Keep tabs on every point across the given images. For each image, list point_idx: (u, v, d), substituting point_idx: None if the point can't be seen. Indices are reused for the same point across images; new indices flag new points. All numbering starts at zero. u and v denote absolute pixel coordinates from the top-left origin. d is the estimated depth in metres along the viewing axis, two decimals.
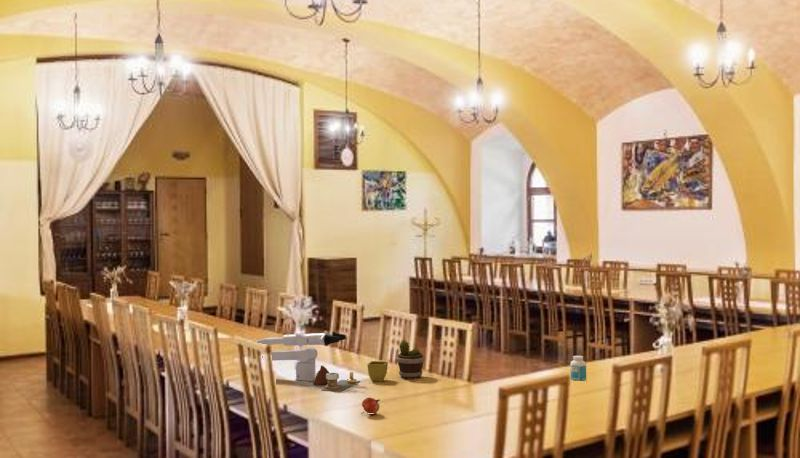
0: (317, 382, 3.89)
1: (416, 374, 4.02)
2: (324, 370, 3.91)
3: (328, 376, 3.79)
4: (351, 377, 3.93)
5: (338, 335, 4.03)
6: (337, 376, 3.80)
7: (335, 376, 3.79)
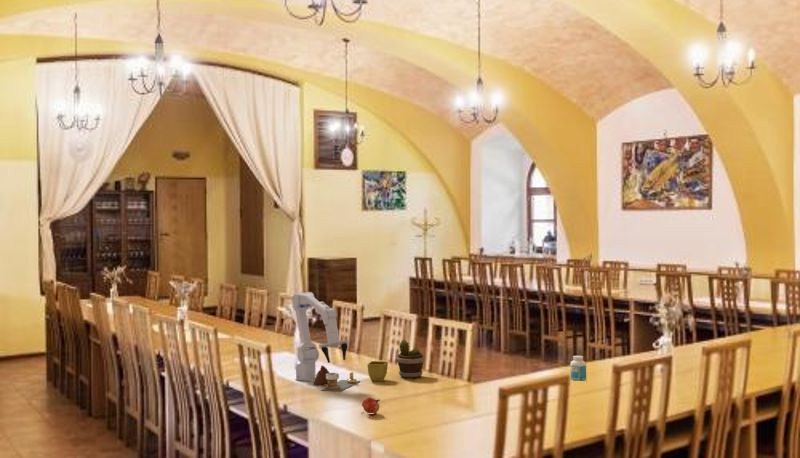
0: (317, 382, 3.89)
1: (416, 374, 4.02)
2: (324, 370, 3.91)
3: (328, 376, 3.79)
4: (351, 377, 3.93)
5: None
6: (337, 376, 3.80)
7: (335, 376, 3.79)
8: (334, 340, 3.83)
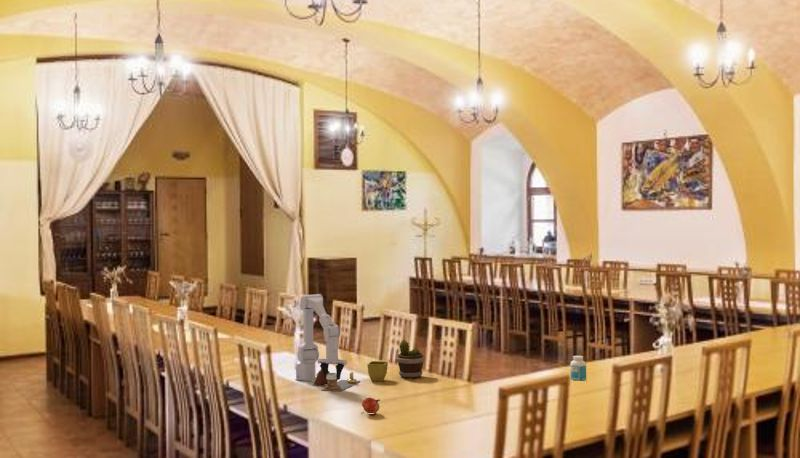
0: (318, 382, 3.89)
1: (416, 374, 4.02)
2: None
3: (328, 376, 3.79)
4: (351, 377, 3.93)
5: None
6: None
7: (335, 376, 3.79)
8: (331, 359, 3.79)
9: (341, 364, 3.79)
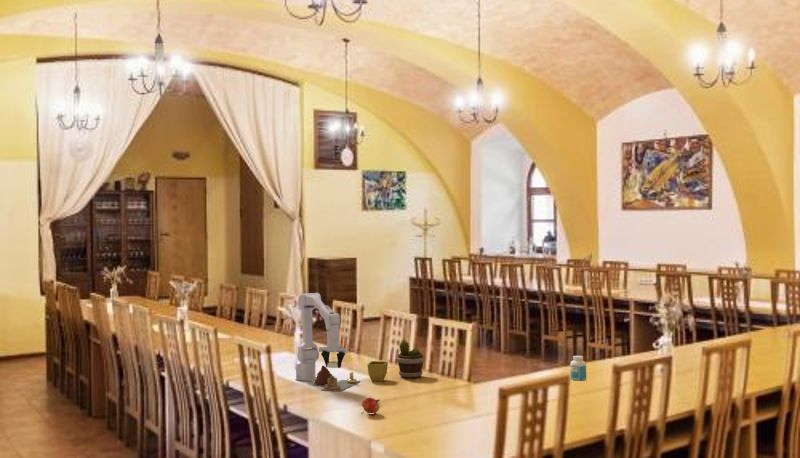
0: (318, 382, 3.89)
1: (416, 374, 4.02)
2: (325, 370, 3.91)
3: (329, 364, 3.80)
4: (351, 377, 3.93)
5: None
6: None
7: (336, 364, 3.80)
8: (332, 347, 3.79)
9: (342, 352, 3.80)
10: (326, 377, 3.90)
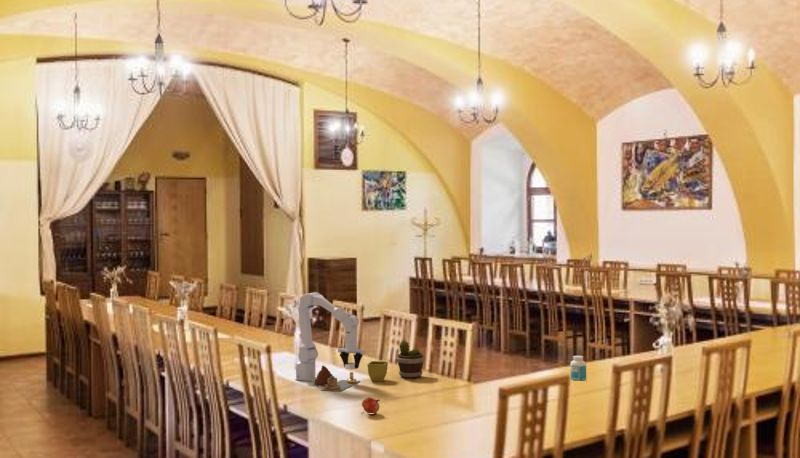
0: (318, 382, 3.89)
1: (416, 374, 4.02)
2: (325, 370, 3.91)
3: (346, 366, 3.91)
4: (351, 377, 3.93)
5: None
6: None
7: (353, 366, 3.90)
8: (349, 349, 3.90)
9: (359, 353, 3.90)
10: (326, 377, 3.90)
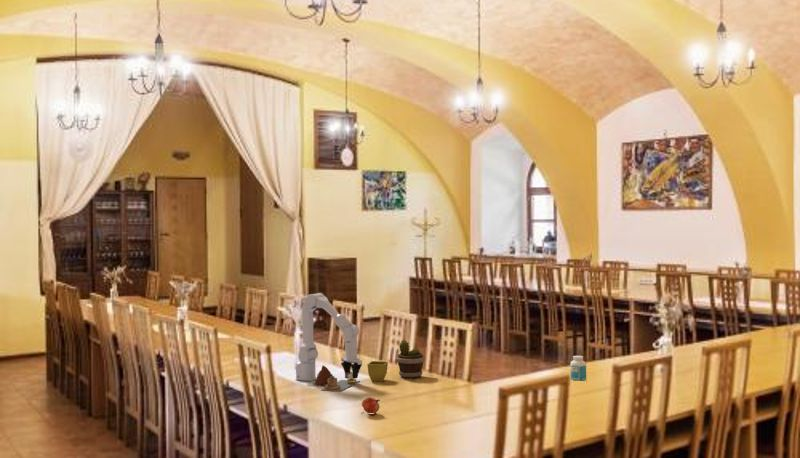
0: (318, 382, 3.89)
1: (416, 374, 4.02)
2: (325, 370, 3.91)
3: (345, 375, 3.92)
4: None
5: None
6: None
7: (351, 375, 3.90)
8: (348, 358, 3.91)
9: (356, 363, 3.89)
10: (326, 377, 3.90)
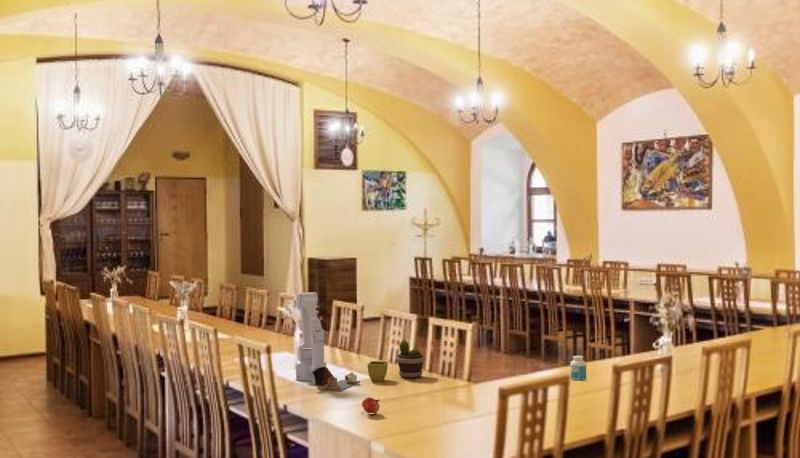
0: None
1: (416, 374, 4.02)
2: (326, 370, 3.91)
3: (345, 377, 3.92)
4: None
5: None
6: (354, 378, 3.91)
7: (351, 377, 3.90)
8: (324, 363, 3.88)
9: None
10: (327, 377, 3.90)
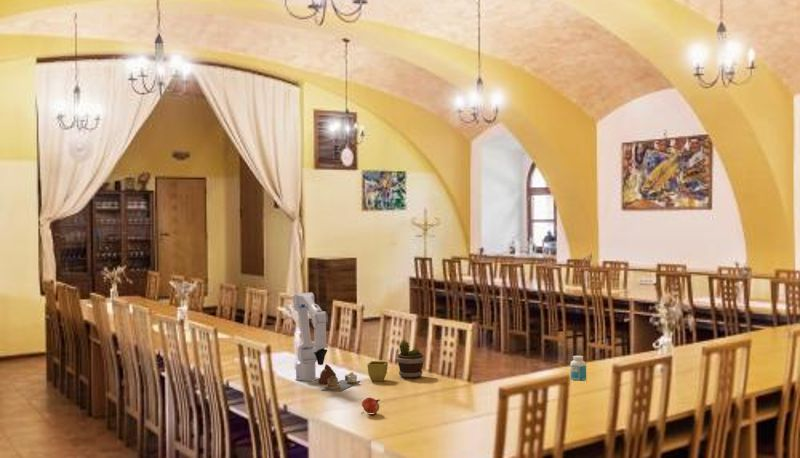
0: (321, 381, 3.92)
1: (416, 374, 4.02)
2: (328, 369, 3.94)
3: (345, 377, 3.92)
4: None
5: None
6: (354, 378, 3.91)
7: (351, 377, 3.90)
8: (326, 344, 3.88)
9: None
10: (329, 376, 3.93)
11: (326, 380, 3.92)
